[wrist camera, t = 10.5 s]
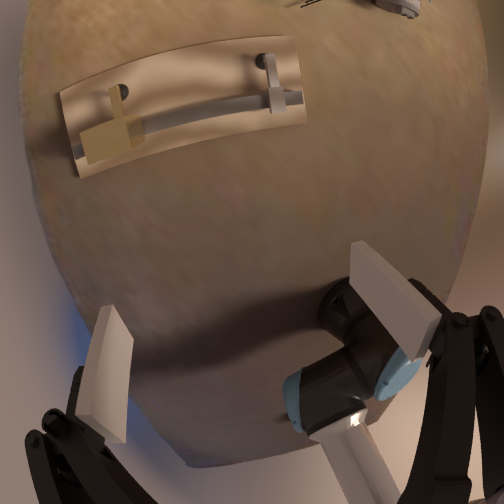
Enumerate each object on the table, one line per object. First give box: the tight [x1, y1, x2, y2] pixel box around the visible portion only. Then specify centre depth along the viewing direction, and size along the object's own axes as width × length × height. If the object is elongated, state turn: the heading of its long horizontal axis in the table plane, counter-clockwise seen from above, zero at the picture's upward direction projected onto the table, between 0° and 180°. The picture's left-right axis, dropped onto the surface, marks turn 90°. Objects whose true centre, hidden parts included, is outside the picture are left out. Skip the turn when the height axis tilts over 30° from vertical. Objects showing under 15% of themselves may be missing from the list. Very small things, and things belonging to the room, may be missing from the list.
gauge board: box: [60, 36, 307, 179], centre depth 30 cm, size 14×34×4 cm, turn 99°
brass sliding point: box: [80, 85, 146, 165], centre depth 25 cm, size 8×5×11 cm, turn 9°
